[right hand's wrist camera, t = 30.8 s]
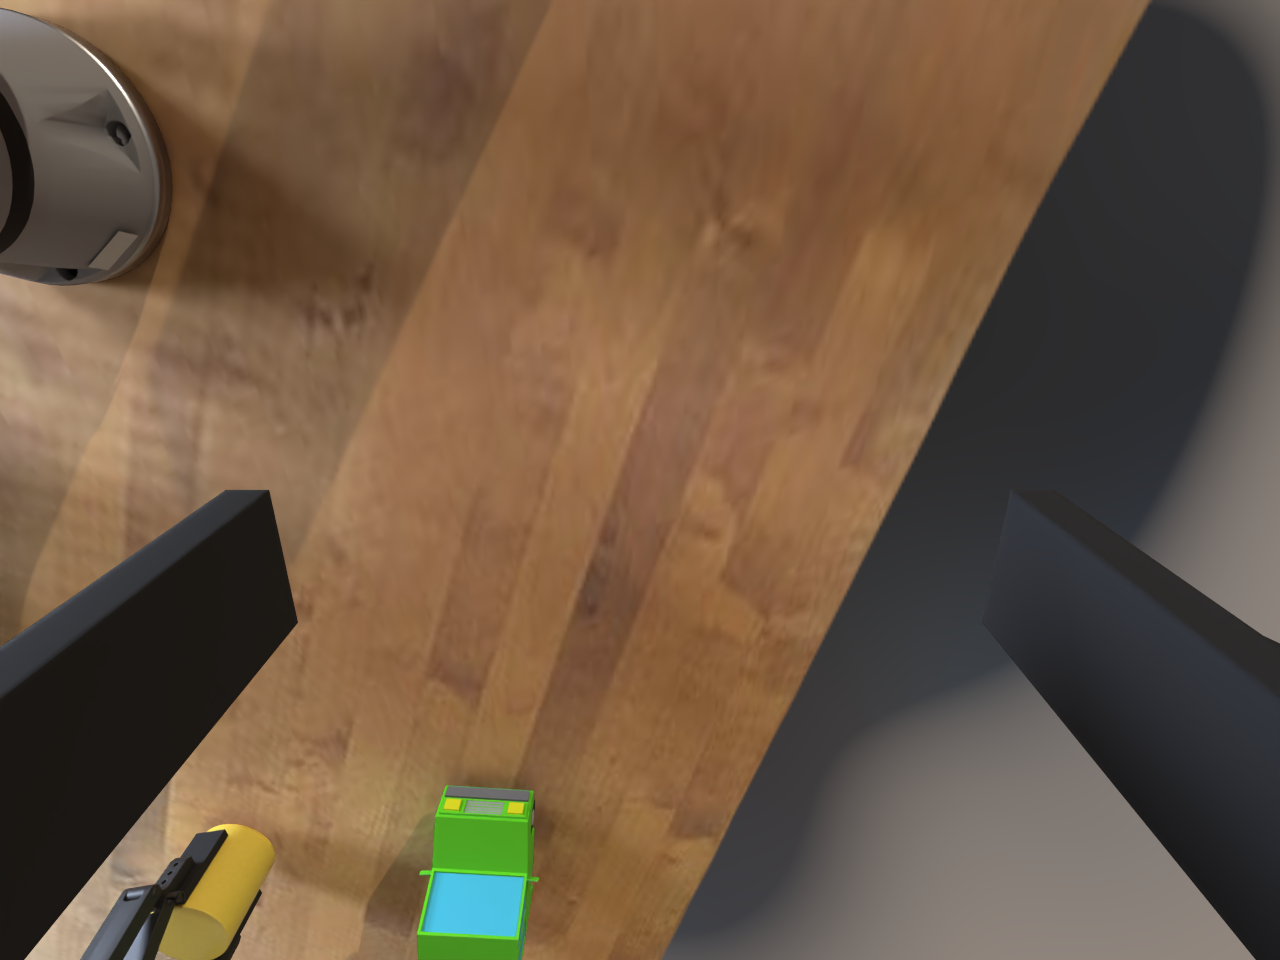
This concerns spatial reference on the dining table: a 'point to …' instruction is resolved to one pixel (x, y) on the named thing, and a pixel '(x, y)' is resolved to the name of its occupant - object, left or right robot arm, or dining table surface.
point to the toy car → (479, 876)
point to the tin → (220, 897)
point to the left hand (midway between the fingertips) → (229, 864)
